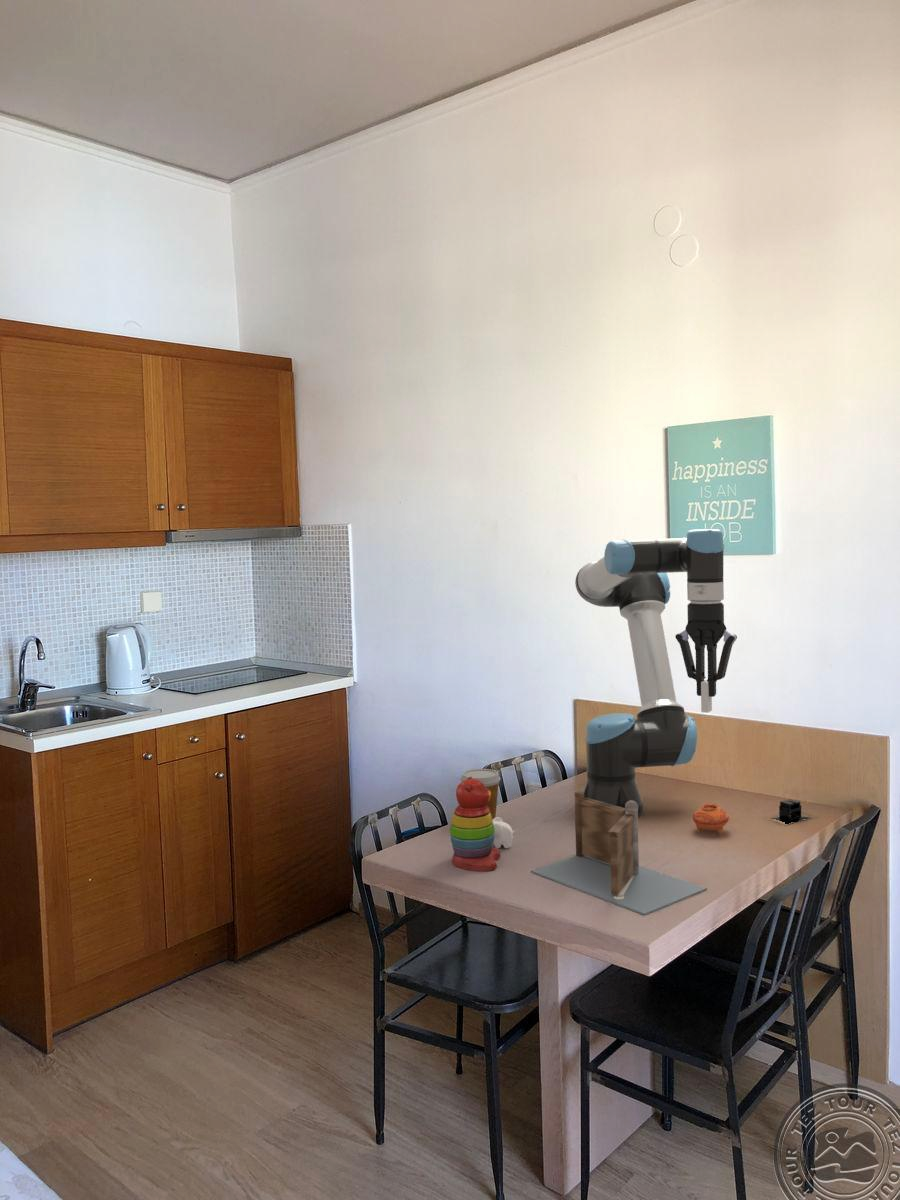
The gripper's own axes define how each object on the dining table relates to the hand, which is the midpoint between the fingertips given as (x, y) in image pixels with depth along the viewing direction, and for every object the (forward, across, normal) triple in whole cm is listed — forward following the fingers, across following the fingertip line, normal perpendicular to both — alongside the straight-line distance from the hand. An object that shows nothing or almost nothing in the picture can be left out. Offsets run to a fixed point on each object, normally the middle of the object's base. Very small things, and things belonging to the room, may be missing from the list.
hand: (706, 711), depth 211 cm
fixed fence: (+29, -15, -22) cm, 39 cm away
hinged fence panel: (+29, -7, -31) cm, 43 cm away
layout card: (+29, -10, -29) cm, 42 cm away
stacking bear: (+30, -40, -32) cm, 59 cm away
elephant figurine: (+30, -40, -21) cm, 54 cm away
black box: (+30, +11, +26) cm, 42 cm away
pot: (+30, -2, +9) cm, 31 cm away
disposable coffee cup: (+30, -52, -8) cm, 60 cm away
